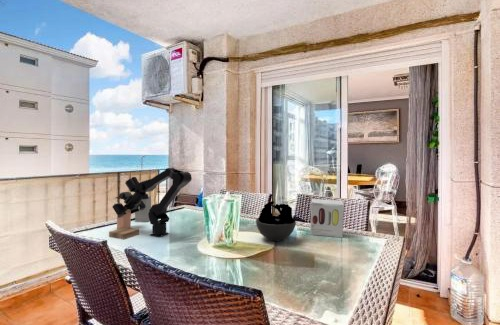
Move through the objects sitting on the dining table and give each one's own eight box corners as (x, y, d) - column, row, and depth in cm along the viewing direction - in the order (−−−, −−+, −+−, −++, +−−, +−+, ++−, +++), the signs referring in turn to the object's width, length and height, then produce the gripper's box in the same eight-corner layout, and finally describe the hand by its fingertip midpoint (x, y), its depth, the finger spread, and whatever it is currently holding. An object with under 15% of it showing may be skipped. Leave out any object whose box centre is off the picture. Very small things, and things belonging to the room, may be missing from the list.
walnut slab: (139, 235, 147) (139, 229, 147) (123, 240, 138) (123, 234, 138) (124, 232, 151) (125, 227, 151) (109, 237, 142) (109, 231, 142)
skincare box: (151, 219, 180) (152, 195, 180) (146, 222, 173) (147, 196, 173) (139, 219, 181) (139, 194, 181) (133, 221, 174) (133, 196, 174)
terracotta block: (130, 228, 160) (130, 205, 159) (123, 230, 155) (123, 206, 155) (124, 226, 162) (124, 204, 161) (116, 228, 157) (117, 205, 157)
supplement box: (310, 235, 152) (310, 202, 152) (310, 229, 165) (311, 198, 165) (343, 237, 148) (344, 203, 148) (341, 231, 161) (342, 200, 161)
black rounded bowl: (294, 247, 130) (295, 207, 130) (252, 244, 134) (252, 205, 134) (296, 236, 150) (296, 201, 149) (259, 233, 154) (259, 199, 153)
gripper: (142, 185, 165) (128, 202, 169) (115, 189, 148) (100, 207, 152) (152, 200, 162) (137, 217, 166) (125, 205, 145) (110, 224, 149)
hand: (122, 216), depth 159 cm, fingers closed on terracotta block, 5 cm apart
